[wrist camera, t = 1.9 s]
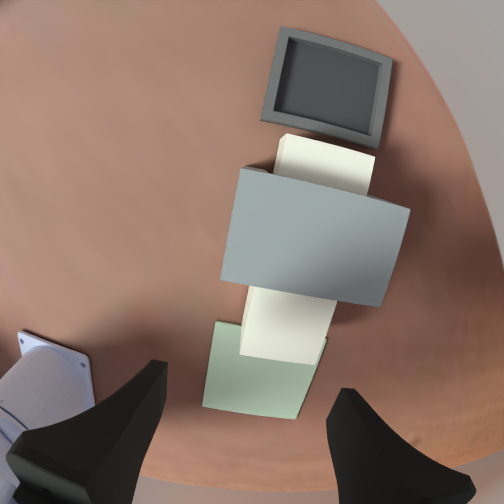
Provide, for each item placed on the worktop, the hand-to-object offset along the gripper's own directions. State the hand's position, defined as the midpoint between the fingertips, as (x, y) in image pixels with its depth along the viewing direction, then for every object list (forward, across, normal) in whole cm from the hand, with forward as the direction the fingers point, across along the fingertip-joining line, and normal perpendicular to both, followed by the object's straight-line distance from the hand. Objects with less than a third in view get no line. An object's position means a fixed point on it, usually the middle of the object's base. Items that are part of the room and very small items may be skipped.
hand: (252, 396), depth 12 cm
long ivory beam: (+10, -2, -4) cm, 11 cm away
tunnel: (+10, -2, -6) cm, 11 cm away
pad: (+10, -2, +6) cm, 12 cm away
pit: (+10, -2, -14) cm, 17 cm away
